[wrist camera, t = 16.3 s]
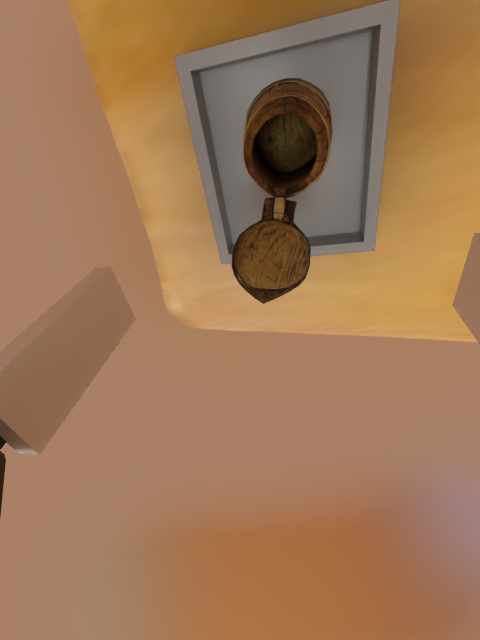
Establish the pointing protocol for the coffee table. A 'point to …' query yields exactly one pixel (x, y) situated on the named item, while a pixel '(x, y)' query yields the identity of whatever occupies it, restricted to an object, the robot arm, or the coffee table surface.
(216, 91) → the slate tray
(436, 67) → the coffee table surface
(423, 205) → the coffee table surface
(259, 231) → the wooden mug
